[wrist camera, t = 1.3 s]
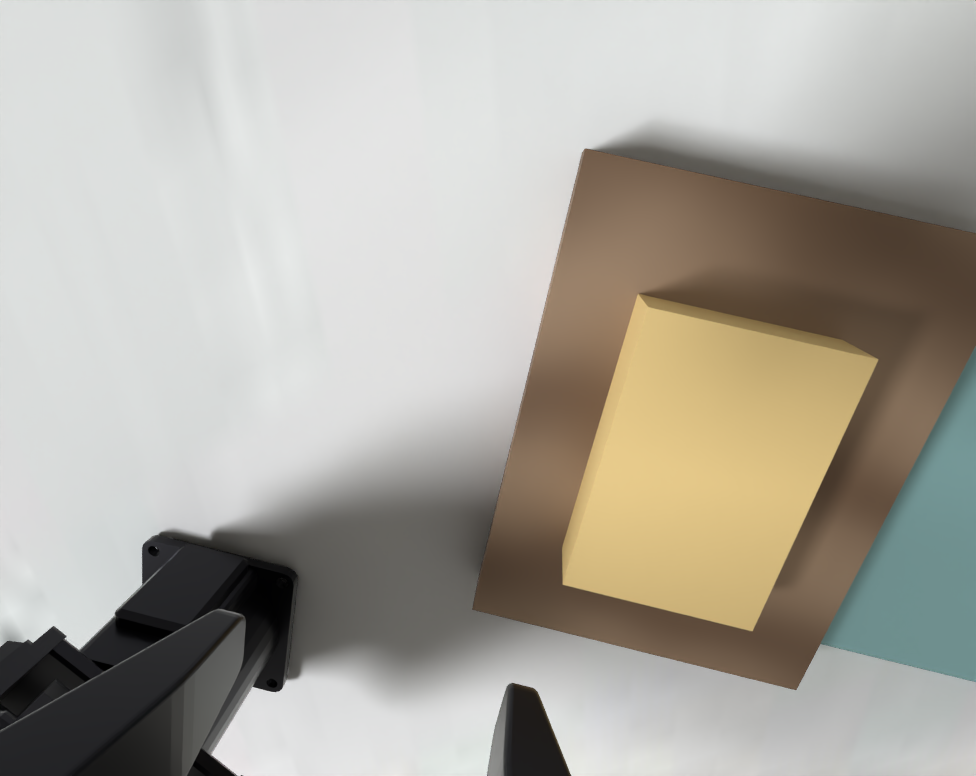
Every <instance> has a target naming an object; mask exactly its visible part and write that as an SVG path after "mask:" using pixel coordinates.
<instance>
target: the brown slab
mask: <svg viewBox="0 0 976 776" xmlns="http://www.w3.org/2000/svg"><path fill="white" fill-rule="evenodd" d="M638 294H642V295H646V296H650V297H655V298H659V299H664V300H668V301H672V302H677V303H681V304H686V305H690V306H695V307H699V308H703V309H708V310H712V311H717V312H721V313H726V314H730V315H734V316H739V317H743V318H748V319H752V320H757V321H761V322H765V323H770V324H774V325H779V326H783V327H788V328H792V329H796V330H801V331H805V332H810V333H814V334H818V335H823V336H827V337H832V338H836V339H841V340H844V341H845V342H847V343H849V344H851V345H853V346H855V347H857V348H858V349H860V350H862V351H864V352H866V353H868V354H870V355H871V356H873V357H875V358H877V359H879V360H878V362H877V364H876V366H875V368H874V370H873V373H872V375H871V377H870V379H869V381H868V383H867V386H866V388H865V390H864V392H863V394H862V396H861V398H860V401H859V403H858V405H857V407H856V409H855V411H854V414H853V416H852V418H851V420H850V422H849V424H848V427H847V429H846V431H845V433H844V435H843V437H842V439H841V442H840V444H839V446H838V448H837V450H836V452H835V455H834V457H833V459H832V461H831V463H830V465H829V467H828V470H827V472H826V474H825V476H824V478H823V480H822V483H821V485H820V487H819V489H818V491H817V493H816V495H815V498H814V500H813V502H812V504H811V506H810V508H809V511H808V513H807V515H806V517H805V519H804V521H803V523H802V526H801V528H800V530H799V532H798V534H797V536H796V539H795V541H794V543H793V545H792V547H791V549H790V551H789V554H788V556H787V558H786V560H785V562H784V564H783V567H782V569H781V571H780V573H779V575H778V577H777V579H776V582H775V584H774V586H773V588H772V590H771V592H770V595H769V597H768V599H767V601H766V603H765V605H764V607H763V610H762V612H761V614H760V616H759V618H758V620H757V623H756V625H755V627H754V629H753V631H749V630H745V629H741V628H737V627H733V626H729V625H724V624H720V623H716V622H712V621H708V620H704V619H700V618H696V617H692V616H688V615H684V614H680V613H676V612H672V611H668V610H664V609H659V608H655V607H651V606H647V605H643V604H639V603H635V602H631V601H627V600H623V599H619V598H615V597H611V596H607V595H603V594H598V593H594V592H590V591H586V590H582V589H578V588H574V587H570V586H566V585H563V574H562V546H563V543H564V539H565V536H566V533H567V529H568V526H569V523H570V519H571V516H572V513H573V509H574V506H575V503H576V499H577V496H578V493H579V489H580V486H581V483H582V479H583V476H584V472H585V469H586V466H587V462H588V459H589V456H590V452H591V449H592V446H593V442H594V439H595V436H596V432H597V429H598V426H599V422H600V419H601V416H602V412H603V409H604V406H605V402H606V399H607V396H608V392H609V389H610V386H611V382H612V379H613V375H614V372H615V369H616V365H617V362H618V359H619V355H620V352H621V349H622V345H623V342H624V339H625V335H626V332H627V329H628V325H629V322H630V319H631V315H632V312H633V309H634V305H635V302H636V299H637V295H638ZM975 346H976V233H972V232H967V231H962V230H958V229H953V228H949V227H944V226H939V225H935V224H930V223H926V222H921V221H916V220H912V219H907V218H903V217H898V216H893V215H889V214H884V213H880V212H875V211H870V210H866V209H861V208H857V207H852V206H847V205H843V204H838V203H834V202H829V201H824V200H820V199H815V198H811V197H806V196H801V195H797V194H792V193H788V192H783V191H778V190H774V189H769V188H765V187H760V186H755V185H751V184H746V183H742V182H737V181H732V180H728V179H723V178H719V177H714V176H709V175H705V174H700V173H696V172H691V171H686V170H682V169H677V168H673V167H668V166H663V165H659V164H654V163H650V162H645V161H640V160H636V159H631V158H627V157H622V156H617V155H613V154H608V153H604V152H599V151H594V150H590V149H584V151H583V152H582V156H581V160H580V164H579V168H578V172H577V176H576V180H575V184H574V188H573V192H572V197H571V201H570V205H569V209H568V213H567V217H566V221H565V225H564V229H563V233H562V238H561V242H560V246H559V250H558V254H557V258H556V262H555V266H554V270H553V274H552V279H551V283H550V287H549V291H548V295H547V299H546V303H545V307H544V311H543V315H542V320H541V324H540V328H539V332H538V336H537V340H536V344H535V348H534V352H533V356H532V360H531V365H530V369H529V373H528V377H527V381H526V385H525V389H524V393H523V397H522V401H521V406H520V410H519V414H518V418H517V422H516V426H515V430H514V434H513V438H512V442H511V447H510V451H509V455H508V459H507V463H506V467H505V471H504V475H503V479H502V483H501V488H500V492H499V496H498V500H497V504H496V508H495V512H494V516H493V520H492V524H491V528H490V533H489V537H488V541H487V545H486V549H485V553H484V557H483V561H482V565H481V569H480V574H479V578H478V583H477V588H476V593H475V598H474V603H473V608H472V610H476V611H480V612H484V613H489V614H493V615H497V616H501V617H505V618H509V619H513V620H517V621H521V622H525V623H529V624H533V625H537V626H541V627H545V628H549V629H553V630H557V631H561V632H565V633H569V634H573V635H577V636H581V637H585V638H589V639H593V640H597V641H601V642H605V643H609V644H613V645H617V646H621V647H625V648H629V649H633V650H637V651H641V652H645V653H649V654H653V655H657V656H661V657H665V658H669V659H673V660H677V661H681V662H685V663H689V664H693V665H697V666H701V667H705V668H709V669H713V670H717V671H721V672H725V673H729V674H733V675H737V676H741V677H745V678H749V679H754V680H758V681H762V682H766V683H770V684H774V685H778V686H782V687H786V688H790V689H794V690H797V688H798V686H799V684H800V682H801V680H802V678H803V676H804V674H805V672H806V670H807V668H808V667H809V665H810V663H811V661H812V659H813V657H814V655H815V653H816V651H817V649H818V647H819V645H820V644H821V642H822V640H823V638H824V636H825V634H826V632H827V630H828V628H829V626H830V624H831V622H832V620H833V619H834V617H835V615H836V613H837V611H838V609H839V607H840V605H841V603H842V601H843V599H844V597H845V596H846V594H847V592H848V590H849V588H850V586H851V584H852V582H853V580H854V578H855V576H856V574H857V573H858V571H859V569H860V567H861V565H862V563H863V561H864V559H865V557H866V555H867V553H868V551H869V550H870V548H871V546H872V544H873V542H874V540H875V538H876V536H877V534H878V532H879V530H880V528H881V526H882V525H883V523H884V521H885V519H886V517H887V515H888V513H889V511H890V509H891V507H892V505H893V503H894V502H895V500H896V498H897V496H898V494H899V492H900V490H901V488H902V486H903V484H904V482H905V480H906V479H907V477H908V475H909V473H910V471H911V469H912V467H913V465H914V463H915V461H916V459H917V457H918V455H919V454H920V452H921V450H922V448H923V446H924V444H925V442H926V440H927V438H928V436H929V434H930V432H931V431H932V429H933V427H934V425H935V423H936V421H937V419H938V417H939V415H940V413H941V411H942V409H943V408H944V406H945V404H946V402H947V400H948V398H949V396H950V394H951V392H952V390H953V388H954V386H955V385H956V383H957V381H958V379H959V377H960V375H961V373H962V371H963V369H964V367H965V365H966V363H967V361H968V360H969V358H970V356H971V354H972V352H973V350H974V348H975Z"/></svg>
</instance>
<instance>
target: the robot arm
mask: <svg viewBox="0 0 976 776" xmlns="http://www.w3.org/2000/svg"><path fill="white" fill-rule="evenodd" d="M155 547H157V548H158V549H159V550H158V549H156V548H155ZM281 578H283V579H285V580H286V581H287V582H284V581H283V580H282V579H281ZM297 583H298V577H297V575H296V573H295V572H294V571H293V570H292V569H290V568H288V567H284V566H280V565H276V564H272V563H268V562H264V561H260V560H256V559H252V558H248V557H244V556H240V555H236V554H232V553H228V552H224V551H220V550H216V549H212V548H208V547H204V546H200V545H196V544H192V543H188V542H184V541H180V540H176V539H172V538H168V537H163V536H158V535H155V536H152V537H151V538H150V539H149V540H147V541H146V542H145V543H144V544H143V547H142V586H141V587H140V588H139V589H138V590H137V591H136V592H135V593H134V594H133V595H131V596H130V597H129V598H128V599H127V600H126V601H125V602H124V603H123V604H122V605H121V606H120V607H119V608H118V609H117V610H116V612H115V616H114V617H113V618H112V619H111V620H110V621H109V622H108V623H107V624H106V625H105V626H104V627H103V628H101V629H100V630H99V631H98V632H97V633H96V634H95V635H94V636H93V637H92V638H91V639H90V640H89V641H88V642H87V643H86V644H85V645H84V646H83V647H82V648H81V649H80V650H78V649H77V648H75V647H74V646H73V645H72V644H70V643H69V642H68V641H67V640H65V638H66V637H67V636H66V635H64V634H63V633H62V632H61V631H59V630H58V629H57V628H56V627H54V626H53V627H52V628H51V629H49V630H48V631H47V632H46V633H45V634H43V635H42V636H41V637H40V638H39V639H37V640H36V641H35V642H34V643H32V642H31V641H29V640H27V641H25V642H24V643H21V642H12V641H7V642H6V643H5V644H3V645H2V646H1V647H0V776H237V775H236V774H235V773H234V772H232V771H231V770H230V769H228V768H227V767H226V766H225V765H223V764H222V763H221V762H220V761H218V760H217V759H216V758H215V757H213V756H212V755H211V754H212V752H213V751H214V749H215V747H216V746H217V744H218V742H219V741H220V739H221V738H222V736H223V734H224V733H225V731H226V729H227V728H228V726H229V724H230V723H231V721H232V719H233V718H234V716H235V715H236V713H237V711H238V710H239V708H240V706H241V705H242V703H243V701H244V700H245V698H246V696H247V695H248V693H249V692H250V690H251V688H252V687H255V688H259V689H263V690H267V691H271V692H278V691H280V690H281V689H282V688H283V686H284V684H285V682H286V680H287V673H288V664H289V655H290V646H291V637H292V628H293V619H294V610H295V601H296V592H297ZM241 776H242V775H241ZM487 776H571V774H570V772H569V769H568V767H567V764H566V762H565V759H564V757H563V754H562V752H561V749H560V747H559V744H558V742H557V739H556V737H555V734H554V732H553V729H552V727H551V724H550V721H549V719H548V716H547V714H546V711H545V709H544V706H543V704H542V701H541V699H540V696H539V694H538V692H537V691H536V690H535V689H534V688H531V687H527V686H523V685H519V684H515V683H511V684H509V685H508V686H507V688H506V691H505V694H504V697H503V701H502V704H501V708H500V711H499V715H498V718H497V722H496V725H495V730H494V734H493V740H492V746H491V753H490V759H489V765H488V772H487Z"/></svg>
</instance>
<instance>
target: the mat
mask: <svg viewBox="0 0 976 776" xmlns="http://www.w3.org/2000/svg"><path fill="white" fill-rule="evenodd" d="M821 644H823V645H827V646H831V647H835V648H839V649H844V650H848V651H852V652H856V653H860V654H864V655H868V656H872V657H876V658H880V659H884V660H888V661H892V662H896V663H901V664H905V665H909V666H913V667H917V668H921V669H925V670H929V671H933V672H937V673H941V674H945V675H949V676H953V677H957V678H962V679H966V680H970V681H974V682H976V346H975V348H974V350H973V352H972V354H971V356H970V358H969V360H968V361H967V363H966V365H965V367H964V369H963V371H962V373H961V375H960V377H959V379H958V381H957V383H956V385H955V386H954V388H953V390H952V392H951V394H950V396H949V398H948V400H947V402H946V404H945V406H944V408H943V409H942V411H941V413H940V415H939V417H938V419H937V421H936V423H935V425H934V427H933V429H932V431H931V432H930V434H929V436H928V438H927V440H926V442H925V444H924V446H923V448H922V450H921V452H920V454H919V455H918V457H917V459H916V461H915V463H914V465H913V467H912V469H911V471H910V473H909V475H908V477H907V479H906V480H905V482H904V484H903V486H902V488H901V490H900V492H899V494H898V496H897V498H896V500H895V502H894V503H893V505H892V507H891V509H890V511H889V513H888V515H887V517H886V519H885V521H884V523H883V525H882V526H881V528H880V530H879V532H878V534H877V536H876V538H875V540H874V542H873V544H872V546H871V548H870V550H869V551H868V553H867V555H866V557H865V559H864V561H863V563H862V565H861V567H860V569H859V571H858V573H857V574H856V576H855V578H854V580H853V582H852V584H851V586H850V588H849V590H848V592H847V594H846V596H845V597H844V599H843V601H842V603H841V605H840V607H839V609H838V611H837V613H836V615H835V617H834V619H833V620H832V622H831V624H830V626H829V628H828V630H827V632H826V634H825V636H824V638H823V640H822V642H821Z"/></svg>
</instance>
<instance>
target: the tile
mask: <svg viewBox="0 0 976 776" xmlns="http://www.w3.org/2000/svg"><path fill="white" fill-rule="evenodd" d="M878 360H879V359H877V358H875V357H873V356H871V355H870V354H868V353H866V352H864V351H862V350H860V349H858V348H857V347H855V346H853V345H851V344H849V343H847V342H845V341H844V340H841V339H836V338H832V337H827V336H823V335H818V334H814V333H810V332H805V331H801V330H796V329H792V328H788V327H783V326H779V325H774V324H770V323H765V322H761V321H757V320H752V319H748V318H743V317H739V316H734V315H730V314H726V313H721V312H717V311H712V310H708V309H703V308H699V307H695V306H690V305H686V304H681V303H677V302H672V301H668V300H664V299H659V298H655V297H650V296H646V295H642V294H638V295H637V299H636V302H635V305H634V309H633V312H632V315H631V319H630V322H629V325H628V329H627V332H626V335H625V339H624V342H623V345H622V349H621V352H620V355H619V359H618V362H617V365H616V369H615V372H614V375H613V379H612V382H611V386H610V389H609V392H608V396H607V399H606V402H605V406H604V409H603V412H602V416H601V419H600V422H599V426H598V429H597V432H596V436H595V439H594V442H593V446H592V449H591V452H590V456H589V459H588V462H587V466H586V469H585V472H584V476H583V479H582V483H581V486H580V489H579V493H578V496H577V499H576V503H575V506H574V509H573V513H572V516H571V519H570V523H569V526H568V529H567V533H566V536H565V539H564V543H563V546H562V574H563V585H566V586H570V587H574V588H578V589H582V590H586V591H590V592H594V593H598V594H603V595H607V596H611V597H615V598H619V599H623V600H627V601H631V602H635V603H639V604H643V605H647V606H651V607H655V608H659V609H664V610H668V611H672V612H676V613H680V614H684V615H688V616H692V617H696V618H700V619H704V620H708V621H712V622H716V623H720V624H724V625H729V626H733V627H737V628H741V629H745V630H749V631H753V629H754V627H755V625H756V623H757V620H758V618H759V616H760V614H761V612H762V610H763V607H764V605H765V603H766V601H767V599H768V597H769V595H770V592H771V590H772V588H773V586H774V584H775V582H776V579H777V577H778V575H779V573H780V571H781V569H782V567H783V564H784V562H785V560H786V558H787V556H788V554H789V551H790V549H791V547H792V545H793V543H794V541H795V539H796V536H797V534H798V532H799V530H800V528H801V526H802V523H803V521H804V519H805V517H806V515H807V513H808V511H809V508H810V506H811V504H812V502H813V500H814V498H815V495H816V493H817V491H818V489H819V487H820V485H821V483H822V480H823V478H824V476H825V474H826V472H827V470H828V467H829V465H830V463H831V461H832V459H833V457H834V455H835V452H836V450H837V448H838V446H839V444H840V442H841V439H842V437H843V435H844V433H845V431H846V429H847V427H848V424H849V422H850V420H851V418H852V416H853V414H854V411H855V409H856V407H857V405H858V403H859V401H860V398H861V396H862V394H863V392H864V390H865V388H866V386H867V383H868V381H869V379H870V377H871V375H872V373H873V370H874V368H875V366H876V364H877V362H878Z"/></svg>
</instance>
